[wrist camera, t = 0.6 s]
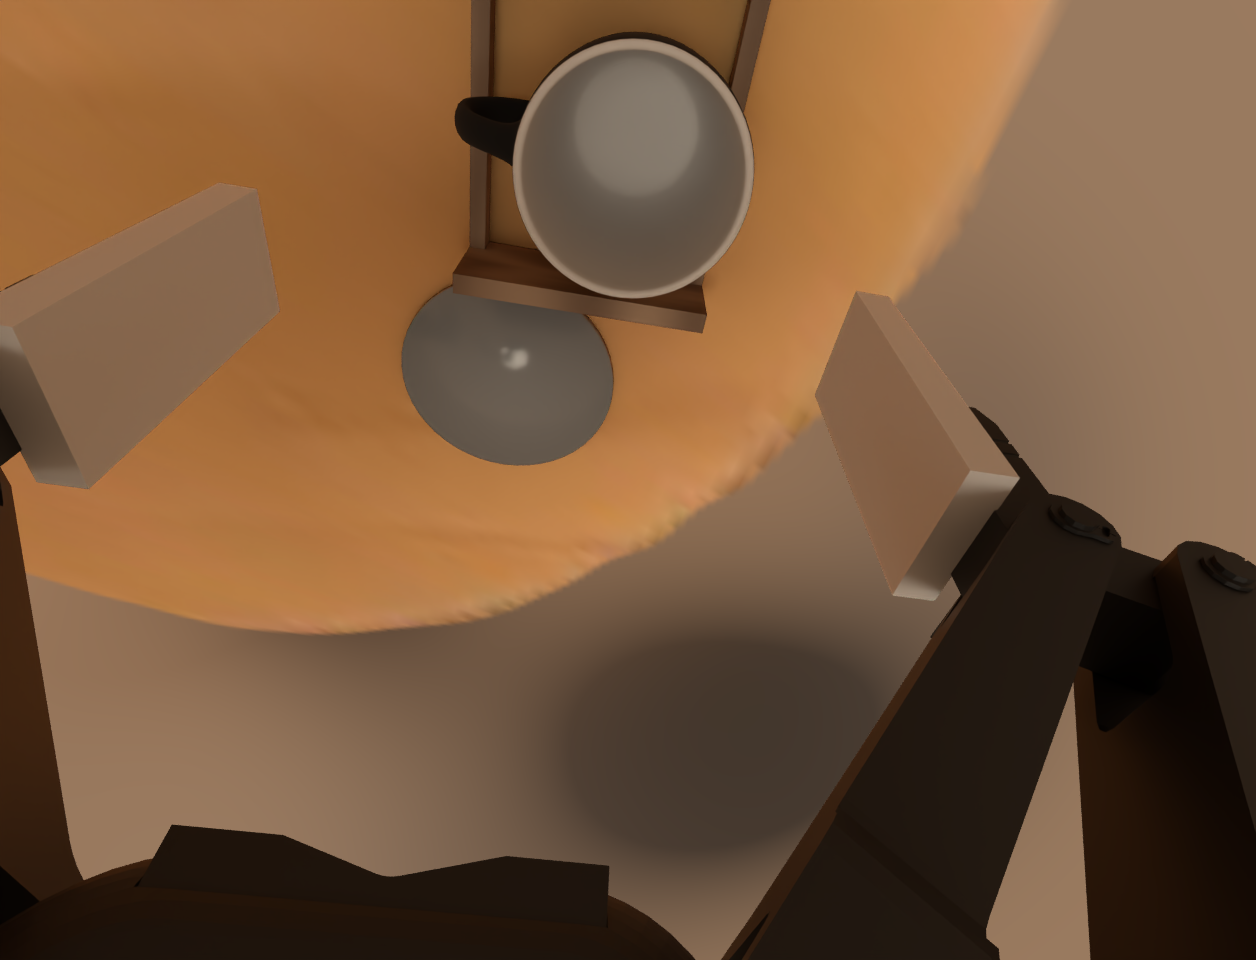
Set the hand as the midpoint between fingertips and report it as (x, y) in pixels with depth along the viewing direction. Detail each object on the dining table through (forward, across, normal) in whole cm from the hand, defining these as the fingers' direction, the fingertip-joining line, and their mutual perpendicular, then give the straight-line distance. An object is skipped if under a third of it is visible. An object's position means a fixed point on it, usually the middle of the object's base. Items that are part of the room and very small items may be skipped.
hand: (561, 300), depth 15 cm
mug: (+22, 0, 0) cm, 22 cm away
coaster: (+21, -4, -15) cm, 26 cm away
